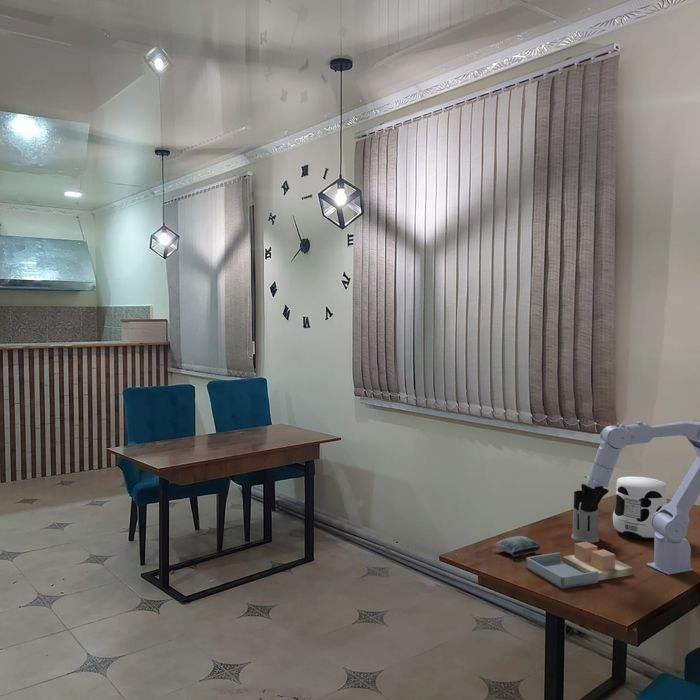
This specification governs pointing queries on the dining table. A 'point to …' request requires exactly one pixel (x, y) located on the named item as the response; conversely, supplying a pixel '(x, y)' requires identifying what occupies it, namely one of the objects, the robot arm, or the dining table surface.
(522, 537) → the grey green pillow
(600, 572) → the board
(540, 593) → the dining table surface
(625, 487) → the milk container
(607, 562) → the wooden cube
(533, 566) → the tray
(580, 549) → the wooden cube
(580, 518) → the glass holder
